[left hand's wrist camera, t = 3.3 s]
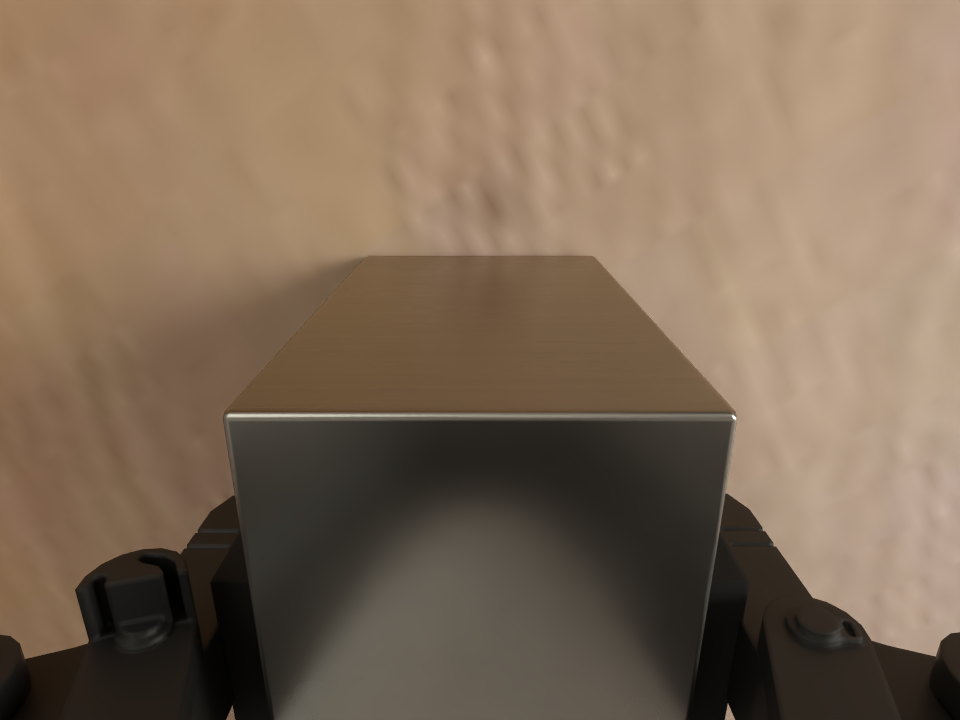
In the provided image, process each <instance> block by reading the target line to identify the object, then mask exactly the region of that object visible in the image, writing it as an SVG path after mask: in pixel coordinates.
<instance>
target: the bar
mask: <svg viewBox="0 0 960 720" xmlns="http://www.w3.org/2000/svg"><path fill="white" fill-rule="evenodd" d="M223 422H224V428H225V435H226V441H227V447H228V454H229V460H230V466H231V473H232V479H233V485H234V492H235V498H236V505H237V511H238V517H239V524H240V530H241V536H242V543H243V549H244V555H245V562H246V568H247V574H248V581H249V587H250V593H251V600H252V606H253V612H254V619H255V625H256V631H257V638H258V644H259V650H260V657H261V663H262V669H263V676H264V682H265V688H266V695H267V701H268V707H269V714H270V720H690V714H691V708H692V702H693V695H694V689H695V683H696V676H697V670H698V664H699V657H700V651H701V645H702V638H703V632H704V626H705V619H706V613H707V607H708V600H709V594H710V588H711V581H712V575H713V569H714V562H715V556H716V550H717V543H718V537H719V531H720V524H721V518H722V512H723V505H724V499H725V493H726V486H727V480H728V474H729V467H730V461H731V455H732V448H733V442H734V436H735V429H736V423H737V416H736V412H735V411H734V409H733V408H732V407H731V406H730V405H729V404H728V403H727V402H726V401H725V400H724V399H723V397H722V396H721V395H720V394H719V393H718V392H717V391H716V390H715V389H714V388H713V386H712V385H711V384H710V383H709V382H708V381H707V380H706V379H705V378H704V377H703V375H702V374H701V373H700V372H699V371H698V370H697V369H696V368H695V367H694V366H693V364H692V363H691V362H690V361H689V360H688V359H687V358H686V357H685V356H684V355H683V354H682V352H681V351H680V350H679V349H678V348H677V347H676V346H675V345H674V344H673V343H672V341H671V340H670V339H669V338H668V337H667V336H666V335H665V334H664V333H663V332H662V330H661V329H660V328H659V327H658V326H657V325H656V324H655V323H654V322H653V321H652V319H651V318H650V317H649V316H648V315H647V314H646V313H645V312H644V311H643V310H642V309H641V307H640V306H639V305H638V304H637V303H636V302H635V301H634V300H633V299H632V298H631V296H630V295H629V294H628V293H627V292H626V291H625V290H624V289H623V288H622V287H621V285H620V284H619V283H618V282H617V281H616V280H615V279H614V278H613V277H612V276H611V275H610V273H609V272H608V271H607V270H606V269H605V268H604V267H603V266H602V265H601V264H600V262H599V261H598V260H597V259H596V258H595V257H593V256H367V257H365V258H364V259H363V260H362V261H361V263H360V264H359V265H358V266H357V267H356V268H355V269H354V270H353V271H352V272H351V274H350V275H349V276H348V277H347V278H346V279H345V280H344V281H343V282H342V283H341V284H340V286H339V287H338V288H337V289H336V290H335V291H334V292H333V293H332V294H331V295H330V297H329V298H328V299H327V300H326V301H325V302H324V303H323V304H322V305H321V306H320V308H319V309H318V310H317V311H316V312H315V313H314V314H313V315H312V316H311V317H310V319H309V320H308V321H307V322H306V323H305V324H304V325H303V326H302V327H301V328H300V329H299V331H298V332H297V333H296V334H295V335H294V336H293V337H292V338H291V339H290V340H289V342H288V343H287V344H286V345H285V346H284V347H283V348H282V349H281V350H280V351H279V353H278V354H277V355H276V356H275V357H274V358H273V359H272V360H271V361H270V362H269V364H268V365H267V366H266V367H265V368H264V369H263V370H262V371H261V372H260V373H259V374H258V376H257V377H256V378H255V379H254V380H253V381H252V382H251V383H250V384H249V385H248V387H247V388H246V389H245V390H244V391H243V392H242V393H241V394H240V395H239V396H238V398H237V399H236V400H235V401H234V402H233V403H232V404H231V405H230V406H229V407H228V409H227V410H226V411H225V413H224V416H223Z"/></svg>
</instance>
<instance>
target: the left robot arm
mask: <svg viewBox="0 0 960 720" xmlns="http://www.w3.org/2000/svg"><path fill="white" fill-rule="evenodd" d="M75 591H76V595H77V599H78V602H79V606H80V609H81V613H82V617H83V620H84V624H85V627H86V631H87V635H88V638H89V642H88V644H85V645H82V646H78V647H75V648H71V649H67V650H62V651H58V652H54V653H50V654H45V655H41V656H37V657H32V658H28V659H25V658H24V655H23V652H22V649H21V646H20V644H19V643H18V642H17V641H16V640H14V639H13V638H12V637H11V636H5V635H0V720H226V719H227V716H228V714H229V712H230V709H231V707H232V705H233V709H234V715H235V720H270V714H269V707H268V701H267V695H266V688H265V682H264V676H263V669H262V663H261V657H260V650H259V644H258V638H257V631H256V625H255V619H254V612H253V606H252V600H251V593H250V587H249V581H248V574H247V568H246V562H245V555H244V549H243V543H242V536H241V530H240V524H239V517H238V511H237V505H236V498H235V496H232V497H230V498H229V499H228V500H226V501H225V502H223V503H222V504H221V505H219V506H218V507H216V508H215V509H214V510H212V511H211V512H210V513H209V515H208V516H207V518H206V519H205V520H204V522H203V523H202V525H201V526H200V527H199V529H198V533H195V535H194V536H193V537H192V539H191V540H190V542H189V543H188V544H187V549H184V550H183V551H182V553H181V554H179V553H178V552H176V551H171V550H167V549H163V548H159V549H142V550H138V551H135V552H131V553H127V554H123V555H120V556H118V557H116V558H114V559H112V560H110V561H108V562H105V563H103V564H101V565H100V566H99V567H97V568H96V569H95V570H93V571H92V572H91V573H89V574H88V575H87V576H85V577H84V579H83V580H82V581H81V583H80V584H79V585H78V587H77V588H76V589H75ZM727 704H729V706H730V709H731V711H732V713H733V716H734V718H735V720H960V632H959V633H951V634H949V635H948V636H947V637H946V638H944V639H943V640H942V641H941V643H940V646H939V649H938V652H937V655H936V657H935V656H930V655H926V654H922V653H917V652H913V651H909V650H904V649H900V648H896V647H891V646H887V645H884V644H881V643H877V642H874V641H871V639H870V638H869V636H868V634H867V633H866V631H865V630H864V628H863V627H862V625H861V624H859V623H858V622H857V621H856V620H855V619H853V618H852V617H851V616H850V615H849V614H847V613H846V612H845V611H843V610H841V609H839V608H837V607H835V606H833V605H831V604H829V603H827V602H824V601H821V600H818V599H814V598H812V596H811V595H810V594H809V592H808V591H807V589H806V588H805V587H804V585H803V584H802V582H801V581H800V580H799V578H798V577H797V575H796V574H795V573H794V571H793V570H792V568H791V567H790V566H789V564H788V563H787V561H786V560H785V559H784V557H783V556H782V554H781V553H780V552H779V550H778V549H777V547H774V546H773V542H772V540H771V539H770V538H769V536H768V535H767V533H766V532H765V531H763V530H762V526H761V525H760V524H759V522H758V521H757V519H756V518H755V517H754V515H753V514H752V512H751V511H750V510H749V509H748V508H747V507H745V506H744V505H742V504H741V503H740V502H738V501H737V500H735V499H734V498H733V497H731V496H730V495H728V494H725V499H724V505H723V512H722V518H721V524H720V531H719V537H718V543H717V550H716V556H715V562H714V569H713V575H712V581H711V588H710V594H709V600H708V607H707V613H706V619H705V626H704V632H703V638H702V645H701V651H700V657H699V664H698V670H697V676H696V683H695V689H694V695H693V702H692V708H691V714H690V720H725V715H726V710H727Z"/></svg>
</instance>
